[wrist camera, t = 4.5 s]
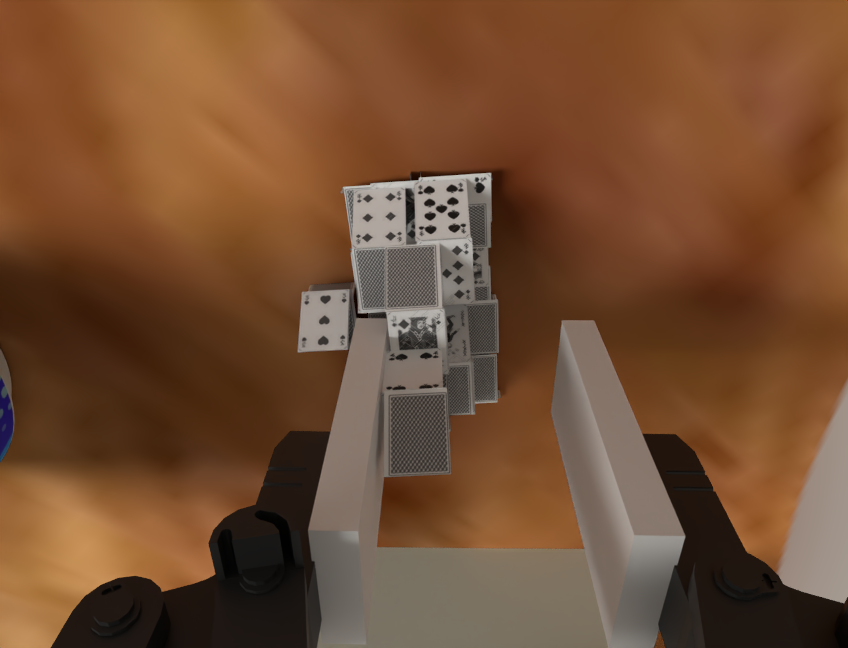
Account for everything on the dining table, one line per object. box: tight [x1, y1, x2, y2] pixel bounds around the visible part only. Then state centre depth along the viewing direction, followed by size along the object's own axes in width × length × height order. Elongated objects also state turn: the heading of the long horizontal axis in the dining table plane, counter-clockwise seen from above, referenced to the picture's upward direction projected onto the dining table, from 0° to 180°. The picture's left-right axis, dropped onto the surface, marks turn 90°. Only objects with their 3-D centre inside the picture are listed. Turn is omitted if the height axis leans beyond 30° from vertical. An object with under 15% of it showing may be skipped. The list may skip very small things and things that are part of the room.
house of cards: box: [298, 171, 501, 477], centre depth 15 cm, size 9×9×8 cm
